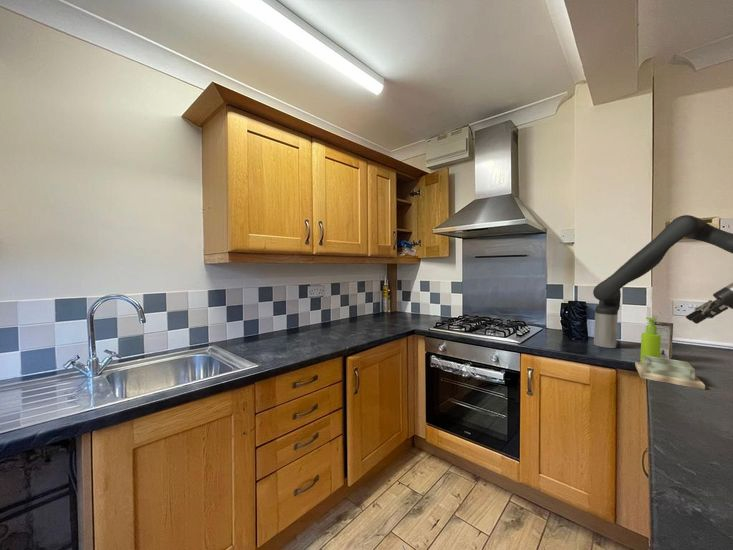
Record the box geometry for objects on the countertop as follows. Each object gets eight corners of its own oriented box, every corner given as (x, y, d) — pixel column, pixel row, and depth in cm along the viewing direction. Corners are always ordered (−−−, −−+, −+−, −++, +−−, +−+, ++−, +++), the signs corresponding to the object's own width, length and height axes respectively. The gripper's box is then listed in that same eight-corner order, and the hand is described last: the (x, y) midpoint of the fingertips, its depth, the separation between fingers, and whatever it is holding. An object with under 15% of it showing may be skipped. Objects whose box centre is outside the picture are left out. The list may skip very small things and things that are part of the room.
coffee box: (652, 354, 142) (654, 321, 141) (672, 357, 137) (673, 323, 136) (649, 357, 136) (651, 323, 135) (669, 361, 131) (671, 325, 130)
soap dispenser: (655, 363, 127) (657, 317, 126) (661, 368, 121) (663, 319, 121) (637, 361, 130) (639, 316, 129) (642, 365, 124) (644, 318, 124)
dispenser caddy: (640, 377, 110) (641, 363, 109) (635, 365, 124) (635, 352, 124) (704, 389, 100) (705, 373, 100) (690, 374, 114) (691, 360, 114)
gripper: (719, 285, 118) (677, 311, 125) (733, 287, 107) (685, 315, 114) (739, 300, 115) (694, 325, 122) (755, 303, 104) (705, 330, 111)
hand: (690, 320), depth 118 cm, fingers open, 8 cm apart
